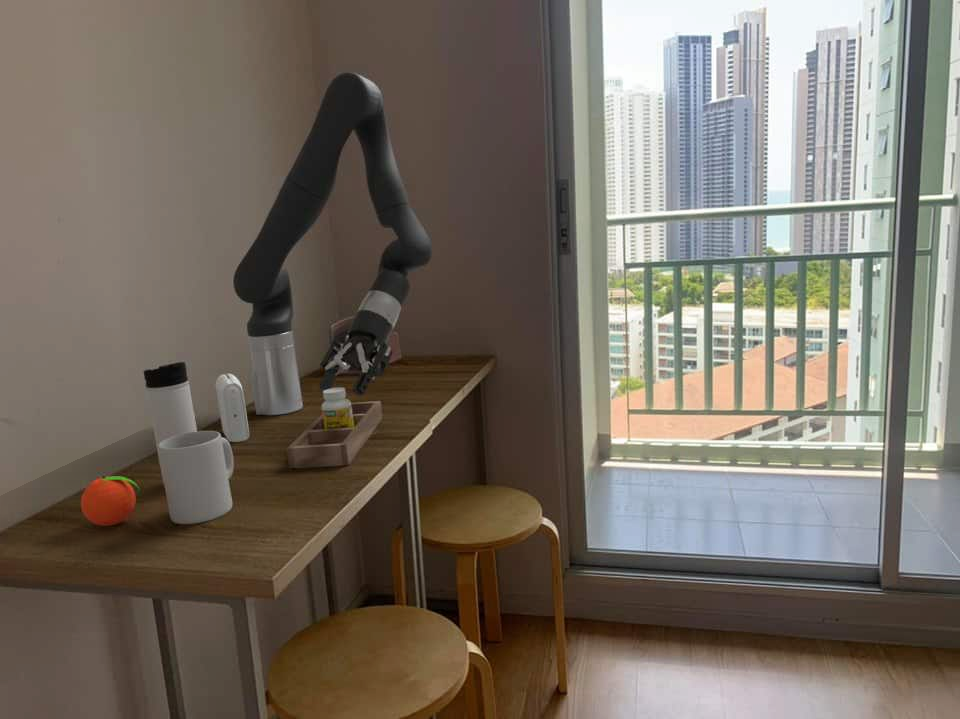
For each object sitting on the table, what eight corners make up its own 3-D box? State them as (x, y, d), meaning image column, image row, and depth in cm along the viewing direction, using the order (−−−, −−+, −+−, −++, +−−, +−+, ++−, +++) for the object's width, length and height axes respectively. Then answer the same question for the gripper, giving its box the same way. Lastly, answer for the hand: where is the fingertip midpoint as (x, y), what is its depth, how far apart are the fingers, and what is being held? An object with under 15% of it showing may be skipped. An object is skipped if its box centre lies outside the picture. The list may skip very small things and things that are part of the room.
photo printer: (252, 439, 141) (242, 376, 139) (229, 444, 139) (219, 380, 137) (243, 427, 150) (233, 368, 148) (221, 432, 148) (211, 372, 146)
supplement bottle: (357, 434, 138) (350, 385, 136) (354, 443, 133) (347, 391, 131) (328, 437, 138) (321, 388, 136) (324, 446, 132) (317, 395, 131)
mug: (206, 526, 101) (193, 449, 99) (157, 522, 104) (143, 448, 101) (259, 493, 112) (248, 423, 110) (213, 490, 115) (202, 423, 112)
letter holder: (333, 375, 196) (326, 322, 193) (372, 359, 214) (366, 311, 211) (365, 375, 192) (358, 322, 189) (402, 359, 210) (396, 310, 207)
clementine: (153, 510, 109) (145, 464, 107) (138, 529, 102) (128, 480, 100) (97, 517, 108) (87, 471, 106) (77, 537, 101) (67, 488, 100)
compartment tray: (289, 468, 122) (286, 448, 121) (333, 421, 149) (331, 404, 148) (348, 465, 121) (346, 444, 120) (382, 417, 148) (380, 400, 148)
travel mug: (181, 493, 115) (159, 367, 111) (155, 487, 118) (133, 366, 114) (214, 479, 120) (194, 359, 116) (189, 474, 123) (168, 357, 120)
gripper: (337, 308, 143) (300, 379, 136) (393, 308, 135) (356, 384, 128) (359, 330, 148) (324, 399, 141) (414, 332, 140) (380, 405, 133)
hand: (339, 392), depth 135 cm, fingers open, 8 cm apart
